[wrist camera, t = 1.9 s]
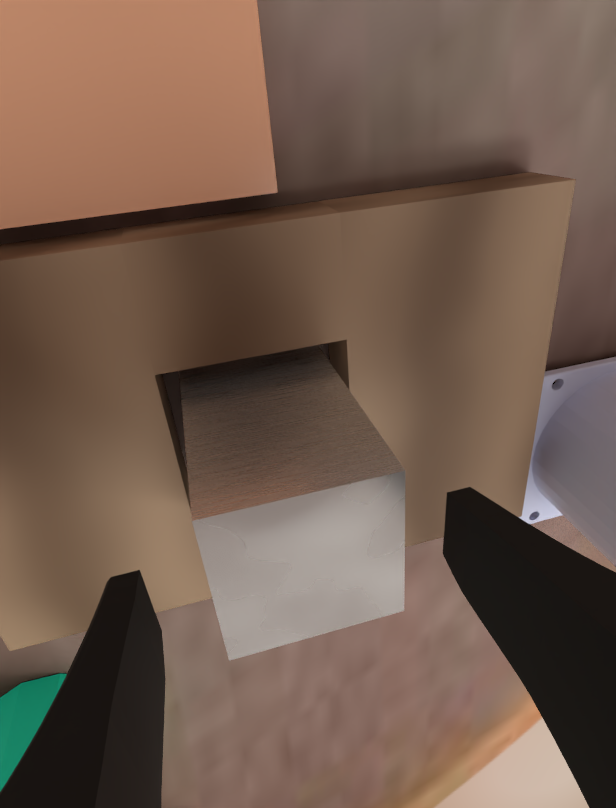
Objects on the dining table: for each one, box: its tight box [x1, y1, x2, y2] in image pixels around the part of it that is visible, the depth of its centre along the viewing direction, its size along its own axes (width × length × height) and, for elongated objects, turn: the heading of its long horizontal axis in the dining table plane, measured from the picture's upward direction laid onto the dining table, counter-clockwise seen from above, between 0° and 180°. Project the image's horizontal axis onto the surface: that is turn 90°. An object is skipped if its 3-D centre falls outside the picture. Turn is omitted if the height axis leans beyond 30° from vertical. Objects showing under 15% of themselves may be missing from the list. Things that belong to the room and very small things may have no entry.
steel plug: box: [179, 345, 405, 661], centre depth 15 cm, size 4×4×8 cm
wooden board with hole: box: [0, 172, 576, 651], centre depth 18 cm, size 20×13×2 cm, turn 95°
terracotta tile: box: [0, 0, 278, 229], centre depth 12 cm, size 9×9×1 cm
